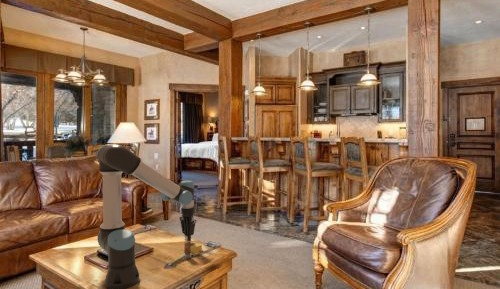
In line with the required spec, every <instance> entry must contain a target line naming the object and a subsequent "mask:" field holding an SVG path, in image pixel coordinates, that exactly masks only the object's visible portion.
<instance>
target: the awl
mask: <svg viewBox="0 0 500 289" xmlns="http://www.w3.org/2000/svg"><path fill="white" fill-rule="evenodd" d="M183 245H184V246H183V247H184V248H183V249H184V251H183V253H184V258H185V260H189V259H190V258H191V254H190V253H191V242H190V241H185V240H184V242H183Z"/></svg>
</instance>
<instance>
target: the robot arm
mask: <svg viewBox="0 0 500 289" xmlns="http://www.w3.org/2000/svg"><path fill="white" fill-rule="evenodd" d="M96 160H97V163H98V167H99V168H98V172H99V173H100V174H101V175H102V223H101V224H100V225H99V232H98V234H97V242H98V243H97V244H98V245H99V246H100V248H101V249H102V250H104V252H106V253H107V255H108V257H107V258H108V260H107V262H108V269H107V272H106V274H105V277H104V287H105V288H106V289H129V288H132V287H133V286H135V285H136V284H137V283H138V282H139V281H140V273H139V269H138V267H137V264H136V237H135V234H134V232H133V231H131V230H130V229H126V223H125V222H124V221H123V220H122V219H123V218H122V217H123V215H122V214H123V212H122V208H123V206H122V205H123V204H122V201H123V200H122V197H123V196H122V194H123V193H122V174H123V173H124V174H126V175H128V176H131V175H132V176H133V177H135V178H137V179H138V180H140V181H141V182H143V183H145V184H147V185H148V186H150V187H152V188H153V189H155V190H157V191H158V192H160V197H161V200H162V201H164V202H165V201H168V202H169V201H172V202H175V203H178V204H180V207H181V208H180V209H181V210H180V213H181V216H179V222H180V228H181V232H182V234H184V235H183V236H184V242H185V241H190V242H191V241H192V236H193V235H194V234H195V228H196V223H197V220H196V219H194V213H195V207H194V206H195V186H194V185H195V184H194V181H192V180H189V179H188V180H182V181H181V182H180V185H178V184H176V183H175V182H174V181H172V180H171V179H169V178H168V177H166V176H164V175H163V174H161V173H160V172H158V171H157V170H155V168H152V167H151V166H149V165H147V164H146V163H145V162H143V160H142V158H140V157H139V156H138V155H136V153H134V152H132V151H131V150H130V149H128V148H127V147H126V146H124V145H121V144H116V143H108V144H104V145H102V146H101V147H100V148H99V149H98V150H97V152H96Z"/></svg>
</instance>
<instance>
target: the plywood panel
mask: <svg viewBox="0 0 500 289" xmlns="http://www.w3.org/2000/svg"><path fill="white" fill-rule="evenodd" d="M199 244H200V245H202V250H200V251H198V252H196V253H192V252H191V253H190V256H194V257H197V258H198V259H205V258H206V257H208V256H211V255H215V253H218V252H220V250H219V249H216V248H213V247H210V246H208V245H206V244H205V245H204V244H202V243H199ZM180 251H181V252H184V248H183V249H181V250H180Z"/></svg>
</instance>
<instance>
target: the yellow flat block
mask: <svg viewBox="0 0 500 289" xmlns="http://www.w3.org/2000/svg"><path fill="white" fill-rule="evenodd" d="M200 244H201V243H198V242H195V241H192V242H191V252H192V253H196V252H198V251H200V250H202V245H203V244H202V245H200Z"/></svg>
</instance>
